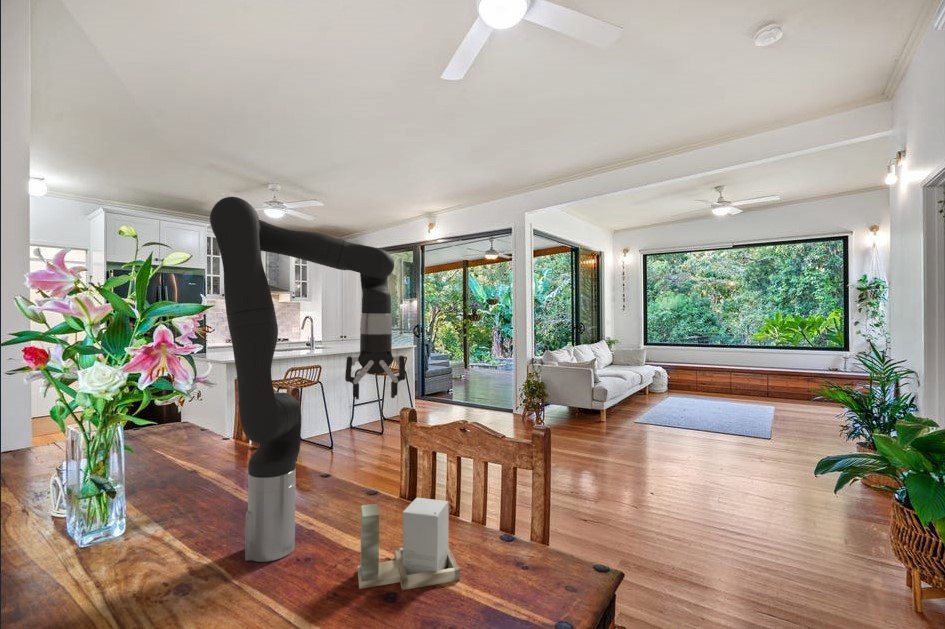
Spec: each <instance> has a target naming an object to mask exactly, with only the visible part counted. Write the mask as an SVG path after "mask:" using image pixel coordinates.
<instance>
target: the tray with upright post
mask: <svg viewBox="0 0 945 629" xmlns="http://www.w3.org/2000/svg"><path fill="white" fill-rule="evenodd" d="M360 507H361V508H360V509H361V510H360V512H361V513H360V518H361V519H360V565H357V578H358V588H359V590H360V589H367V588H372V587H378V586H385V585H391V584H396V583H397V584H398V583H399V584H400V587H401V590H402V591H404V590H405V591H406V590H411V589H417V588H423V587H428V586H429V587H430V586H434V585H440V584H445V583H446V584H447V583H451V582H457V581H461V569H460V567H459V565H458V563H457V561H456V559H455V556H454V555H453V552H452V551H451V549H450V547H449V545H448V554H447V565H446V566H448V568H445V569H442V570H438V571H437V572H436V571H430V572H424V573H417V574H411V575H407V574H406V570H405V567H404V566H403V546H402V547H396V548H395V547H394V559H393V560H387V561H379V560H380V558H379V556H380V553H379V552H380V512H379V507H378V503H372V504H370V503H369V504H362V505H361V506H360Z"/></svg>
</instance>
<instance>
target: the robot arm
mask: <svg viewBox="0 0 945 629" xmlns="http://www.w3.org/2000/svg"><path fill="white" fill-rule="evenodd" d="M209 224H210V227H211V230H212V233H213V235H214V236H215V240H216V242H217V245H218V250H219V253H220V257H221V261H222V267H223V270H222V271H223V289H224V290H223V292H224V303H225V305H224V306H225V312H226V313H225V314H226V319H227V324H228V330H229V334H230V335H229V336H230V340H231V343H232V344H231V345H232V352H233V357H234V358H233V359H234V364H235V370H236V378H237V392H238V407H239V408H238V409H239V410H238V412H239V413H238V414H239V421H240V426H241V429H242V431H243V433H244V435H245V436H246V438H247V439H248V440H249V441H251V442H252V443H254V444H259V445H258V447H257V449H256V450H255V452H254V453H253V455H252V456H251V457H250V458H249V461H248V464H247V465H248V474H247V476H248V477H247V478H248V479H247V480H248V482H247V483H248V484H247V511H246V513H245V525H244V526H245V532H244V534H245V535H244V536H245V538H244V539H245V540H244V541H245V543H244V548H245V549H244V561H245V562H247V561H248V562H249V561H252V562H256V563H257V562H258V563H266V562H272V561H277V560H279V559H282V558H285V557H287V556H288V555H290V554H291V553H292V552H294V550H295V547H296V546H295V545H296V542H295V540H296V479H297V478H296V476H297V475H296V474H297V472H296V471H297V469H296V468H297V467H296V466H297V465H296V464H297V459H298V456H299V453H300V449H301V440H302V439H301V437H302V436H301V435H302V409H301V406H300V404H299V402H298V400H297V399H296V398H295V397H294V395H292V394H290V393H287V392H275V389H274V385H273V380H272V365H273V359H274V354H275V352H276V348H277V347H276V346H277V343H278V335H279V325H278V320H277V316H276V310H275V305H274V300H273V296H272V292H271V289H270V285H269V281H268V277H267V275H266V272H265V269H264V265H263V261H262V260H263V259H262V253H261V252H266V253H272V254H278V255H283V256H288V257H291V258H296V259H299V260H303V261H307V262H310V263H314V264H318V265H320V266H325V267H329V268H333V269H336V270H340V271H352V272H356V273H358V274H359V278H360V285H361V286H360V287H361V292H362V293H361V294H362V295H361V317H360V323H359V324H360V325H359V326H360V328H359V332H360V334H359V335H360V336H359V338H360V339H359V340H360V342H359V345H360V346H359V355H358V356H352V355H347V356H346V362H345V363H346V364H345V381H346V382H347V383H351V384H352V396H353V398H355V400H356V401H357V400H360V383H359V382H360V381H361V380H362V378H363V377H364V376H366V374H369V375H374V374H379V375H380V374H381V375H382V374H384V373H386V375H387V376H389V378H390V379H391V382H390V398H391V399H395V396H398V383H399V382H401V381H405V380H406V366H405V365H406V364H405V362H406V361H405V360H406V359H405V357H404V355H401V354H399V355H395V356H393V354H392V341H393V340H392V338H393V337H392V336H393V332H392V328H393V327H392V325H393V323H392V322H393V321H392V315H391V314H392V297H391V296H392V295H391V293H390V291H389V289H388V286H389V285H388V277H389V276H390V275H391V274H392V273H393V271H394V269H395V260H394V258H393V256H392V255H391V254H390V253H389V252H388V251H386V250H384V249H381V248H378V247H374V246H370V245H364V244H360V243H359V244H358V243H353V242H350V241H347V240H344V239H340V238H338V237H335V236H331V235H327V234H324V233H319V232H314V231H305V230H296V229H288V228H283V227H280V226H277V225H274V224H270V223H269V222H266V221H264V220H261V219H260V218H259V214H258V212H257V211H256V210H255V208H254V206H253V205H251V204H250V203H249V202H248V201H247V200H245V199H242V198H241V197H236V196H226V197H224V198H221V199H219V200H218V201H217V202H216V203H215V204H214V205H213V207H212V208H211V211H210V215H209ZM357 362H358V364H359V365H360V366H361V368H360V369H359V371H357V373H356V375H355V376H352V370H353V369H352V366H355V365H356V363H357ZM393 362H395V364H396V365H397V366H398V375H396V374H395V373H394V372H393V370H392V369H391V368H390V366H391V365H392V364H393Z"/></svg>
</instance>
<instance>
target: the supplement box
mask: <svg viewBox="0 0 945 629" xmlns="http://www.w3.org/2000/svg"><path fill="white" fill-rule="evenodd" d="M401 514H402V547H403V566H404V567H405V570H406V574H407V575H411V574H417V573H424V572H430V571H436V572H437V571H438V570H442V569H446V567H447V566H448V565H447V554H448V546H449V501H448V500H439V499H432V498H425V497H424V498H422V497H416V498H415V499H414V500H412V502H411V503H409V505H408V506H407V507H406V508H405V509H404V510H403V511H402V513H401Z"/></svg>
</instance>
